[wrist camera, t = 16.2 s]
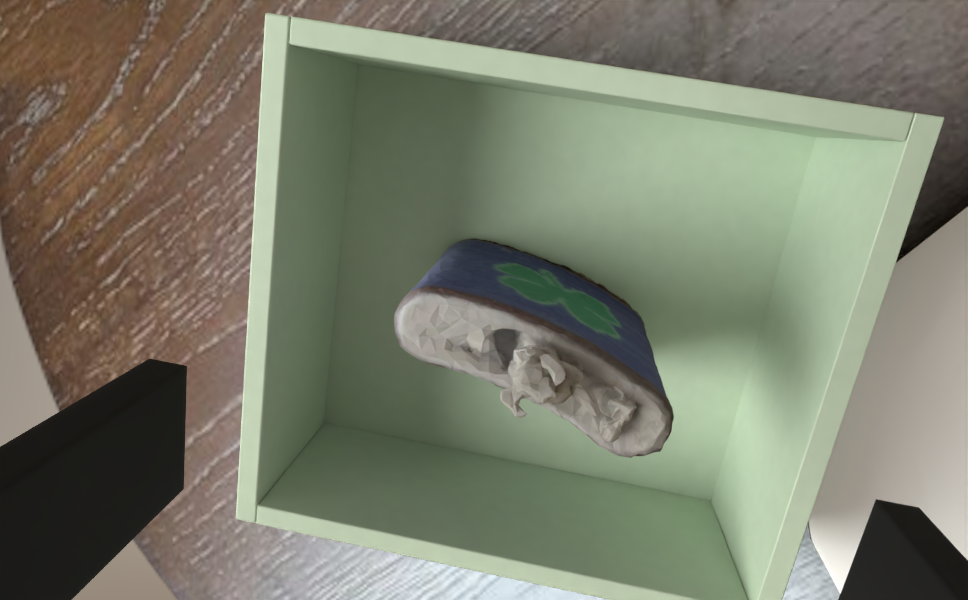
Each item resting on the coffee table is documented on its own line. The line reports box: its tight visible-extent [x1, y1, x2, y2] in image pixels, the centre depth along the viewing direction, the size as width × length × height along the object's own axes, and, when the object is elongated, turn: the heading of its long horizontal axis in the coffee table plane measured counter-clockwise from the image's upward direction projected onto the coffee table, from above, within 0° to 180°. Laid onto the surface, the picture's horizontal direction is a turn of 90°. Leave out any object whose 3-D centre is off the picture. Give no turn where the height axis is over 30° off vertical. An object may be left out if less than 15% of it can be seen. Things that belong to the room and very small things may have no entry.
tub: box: [236, 13, 944, 600], centre depth 25 cm, size 20×18×8 cm
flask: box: [394, 239, 674, 458], centre depth 23 cm, size 9×3×11 cm, turn 66°
